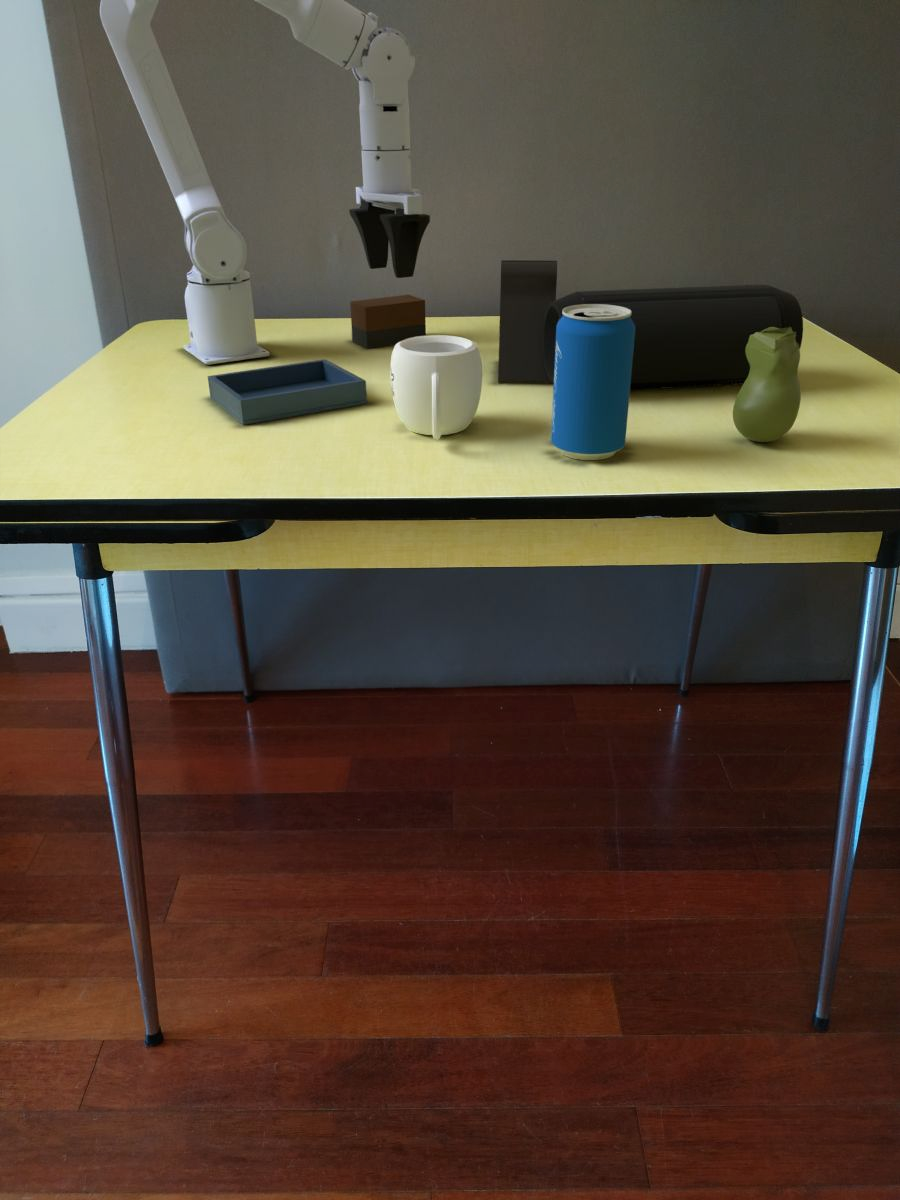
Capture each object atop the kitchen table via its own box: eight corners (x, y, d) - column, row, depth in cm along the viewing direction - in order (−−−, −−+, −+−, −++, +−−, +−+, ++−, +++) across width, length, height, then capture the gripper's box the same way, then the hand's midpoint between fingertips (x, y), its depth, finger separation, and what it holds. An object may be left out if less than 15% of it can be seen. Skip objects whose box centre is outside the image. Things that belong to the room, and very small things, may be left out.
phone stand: (552, 384, 99) (558, 268, 93) (497, 383, 99) (499, 268, 93) (551, 363, 107) (556, 254, 101) (500, 362, 107) (502, 254, 101)
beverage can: (544, 439, 83) (550, 303, 77) (614, 437, 83) (625, 302, 78) (557, 464, 77) (565, 320, 71) (632, 461, 78) (646, 318, 72)
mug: (394, 414, 90) (391, 333, 86) (479, 413, 90) (480, 332, 86) (388, 456, 79) (384, 366, 76) (485, 455, 79) (486, 365, 76)
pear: (804, 446, 81) (826, 331, 76) (754, 453, 79) (773, 337, 74) (764, 427, 86) (782, 318, 81) (716, 434, 84) (732, 323, 79)
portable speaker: (755, 367, 104) (770, 276, 99) (797, 391, 96) (815, 293, 91) (539, 378, 101) (542, 284, 96) (562, 404, 92) (568, 303, 87)
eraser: (352, 341, 117) (349, 301, 114) (409, 333, 120) (408, 294, 118) (367, 348, 113) (365, 307, 111) (426, 340, 117) (425, 300, 115)
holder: (210, 398, 95) (207, 376, 94) (326, 380, 101) (325, 358, 100) (243, 425, 87) (240, 400, 86) (367, 403, 93) (366, 380, 92)
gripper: (445, 151, 102) (447, 278, 108) (390, 146, 113) (394, 261, 120) (388, 153, 99) (393, 283, 105) (337, 148, 110) (345, 266, 117)
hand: (390, 272), depth 112 cm, fingers open, 7 cm apart
